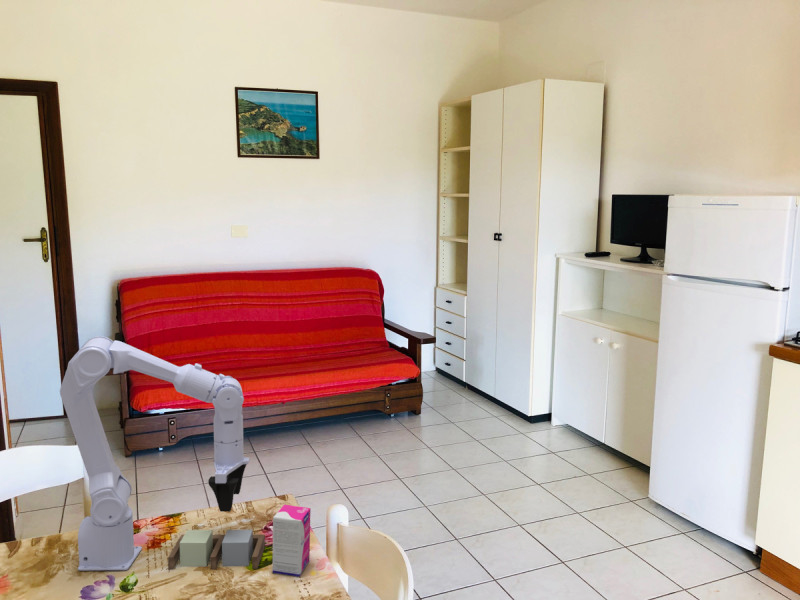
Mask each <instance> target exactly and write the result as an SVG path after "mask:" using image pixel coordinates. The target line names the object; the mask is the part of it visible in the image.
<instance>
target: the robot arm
mask: <svg viewBox="0 0 800 600" xmlns="http://www.w3.org/2000/svg"><path fill="white" fill-rule="evenodd" d="M111 369H113V371H112V373H113V374H112V375H116V374H121V373H124V372H128V371H135V372H138V373H141V374H144V375H147V376H149V377H153V378H156V379H159V380H162V381H163V380H164V381H166V382H169V383H171V384H173V386H174V389H175V390H176V392H177V393H180V394H183V395H185V396H188V397H191V398H194V399H196V400H199V401H201V402H205V403H208V404H209V403H211V404H212V405H213V407H214V416H213V451H214V453H213V454H214V458H213V460H212V461H213V467H214V470H215V473H214V476H210V477H209V479H207V481H208V482H207V483H208V487H210V489H211V490H212V491H213V493H214V496H215V499H216V501H217V506H218V510H219V512H224V513H225V512H226V513H228V512H229V513H230V512H231V510H232V508H233V502H234V495H240V493H241V488H242V482H243V477H244V473H245V469H246V467H247V465H249V463H250V461H251V459H250V457H247V456H245V455H244V415H243V404H244V401H245V397H244V394H243V393H244V392H243V389H242V386H241V383H240V382H239V381H238V380H237V379H236V378H233V377H232V376H231V375H224V374H222V373H219V374H216V373H213V372H211V371H209V370H206V369H204V368H202V364H200V363H194V365H193V364H190V363H188V364H187V363H186V364H184V365H183V366H178V365H176V364H173V363H171V362H169V361H166V360H164V359H162V358H159V357H157V356H155V355H152V354H151V353H148V352H146V351H143V350H141V349H138V348H137V347H134V346H132V345H130V344H127V343H125V342H124V341H123V342H122V341H120V340H114V341H113V340H112V339H111V338H109V337H107V336H103V335H97V336H96V335H95V336H92V337H91V338H88V340H86V341H85V342H84V343H83V345H82V346H81V347H80V349H78V351H77V352H76V353H75V354H74V355H73V357H72V358H71V359H70V360H69V361H68V364H67V369H66V370H65V375H64V377H63V380H62V382H61V385H60V389H59V395H60V398H61V401H62V404H63V407H64V410H65V412H66V415H67V418H68V421H69V425H70V427H71V430H72V432H73V436H74V439H75V443H76V444H77V448H78V450H79V453H80V456H81V459H82V463H83V464H84V468H85V472H86V473H87V476H88V487H89V488H88V490H89V496H90V500H91V505H90V510H89V512H90V516H89V515H88V516H85V517H84V518H83V519H82V520H81V523H80V525H79V527H78V532H77V533H78V534H77V546H78V560H79V561H78V562H79V565H78V567H77V571H127V570H129V569H130V567H131V566H132V564H133V563H134V561H135V560H136V559H137V557H138V555H139V554H140V553H141V552H142V549H143V547H142V546H141V545H137V546H135V538H134V536H135V535H134V517H133V509H132V508H131V507H130V506H129V499H130V497H131V495H132V485H131V483H130V481H129V480H128V479H127V478H126V477H124V475H123V473H122V470H121V468H120V467H119V466H118V465H117V464H116V463H115V460H114V456H113V454H112V450H111V448H110V445H109V442H108V439H107V435H106V433H105V430H104V426H103V424H102V420H101V417H100V414H99V410H98V409H97V406H96V403H95V400H94V397H93V393H92V389H93V388H94V386H95V385H96V383H97V382H98V381H100V380H101V379H102V378H104V377H105V376H106V375H107V374H108V373H109V372H110V370H111Z"/></svg>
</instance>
